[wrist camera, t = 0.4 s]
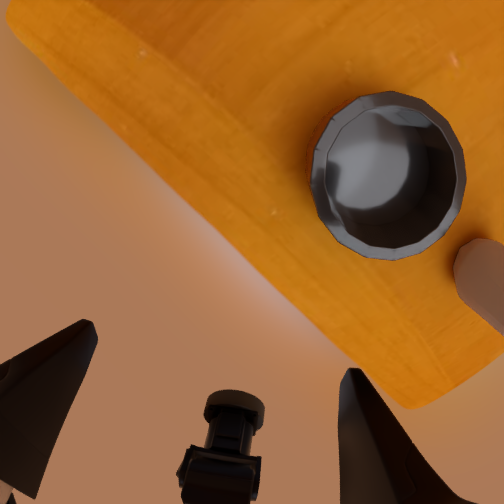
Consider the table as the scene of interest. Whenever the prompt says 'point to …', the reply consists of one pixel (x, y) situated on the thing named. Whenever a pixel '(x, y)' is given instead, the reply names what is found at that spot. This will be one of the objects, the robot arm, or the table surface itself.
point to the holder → (386, 174)
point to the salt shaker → (482, 279)
